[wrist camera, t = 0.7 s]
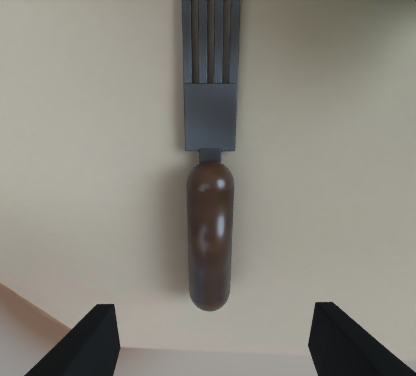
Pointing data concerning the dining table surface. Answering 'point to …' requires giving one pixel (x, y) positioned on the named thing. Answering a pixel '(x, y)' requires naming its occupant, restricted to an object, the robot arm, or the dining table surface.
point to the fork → (210, 155)
